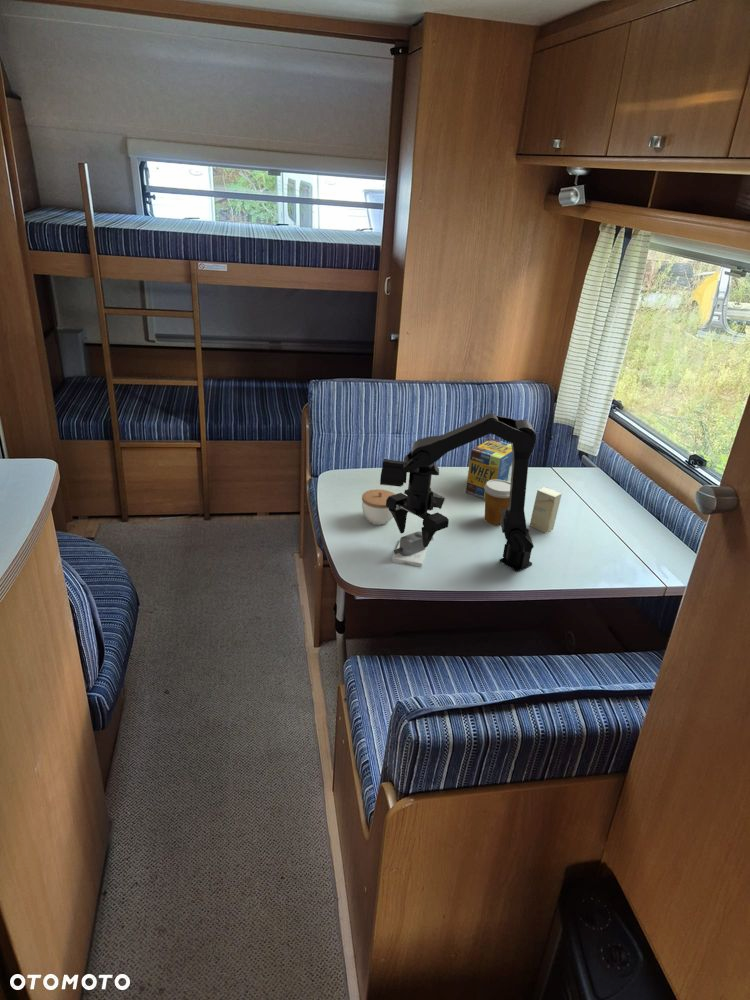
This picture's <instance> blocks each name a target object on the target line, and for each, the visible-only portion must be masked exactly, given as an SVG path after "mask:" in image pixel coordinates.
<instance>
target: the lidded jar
mask: <svg viewBox="0 0 750 1000" xmlns="http://www.w3.org/2000/svg"><path fill="white" fill-rule="evenodd" d="M395 494H396V493H394V492H392V491H389V490H386V489H378V488H377V489H370V490H367V491H365V492H363V494H362V495H361V500H362V501H361V508H362V513H363V515H364V517H365V518H366V519H367V520H369V521H368V522H369V523H370V522H371V523H370V524H372V523H373V525H376V524H377V525H376V526H382V525H381V524H384V525H387V524H388V523H389V522H390V521H391V520H393V519H394V517H393V515H392V513H391V512H390V511H389V508H388V507H386V500H387V498H388V497H389V496H392V495H395ZM386 523H387V524H386Z"/></svg>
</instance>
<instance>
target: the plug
mask: <svg viewBox="0 0 750 1000" xmlns="http://www.w3.org/2000/svg"><path fill="white" fill-rule="evenodd" d="M399 541H400V547H399V548H398V549H393V551H392V552H393V555H394V554H397V553H400V554H401V555H404V556H409V555H412V554H415V553H418V552H420V551H423V550H425V549H426V547H424V546H423V539H422V531H415V532H412V533H410V534H407V535H404V536H401V537H400V539H399ZM432 541H434V536H433V537H432V539H431V541H430V542H432Z"/></svg>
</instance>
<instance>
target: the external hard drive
mask: <svg viewBox="0 0 750 1000" xmlns="http://www.w3.org/2000/svg"><path fill="white" fill-rule="evenodd" d="M429 546H430V543H429V544H428V546H427V547H426V549H425V550H423V551H420V552H418V553H415V554H412V555H409V556H404V555H401V554H400V553H397V554H394V553H393V555H392V558H391V562H393V561H394V562H395V563H399V564H409V565H411V566H415V565H417V566H416V567H421V566H422V567H423V565H424V562H425V560H426V559H425V558H426V556H427V553H428V550H427V549H429ZM399 547H400V540H399V541H398V543H397V546H396V549H398V548H399ZM426 552H427V553H426ZM425 555H426V556H425ZM423 561H424V562H423ZM394 562H393V563H394Z"/></svg>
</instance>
